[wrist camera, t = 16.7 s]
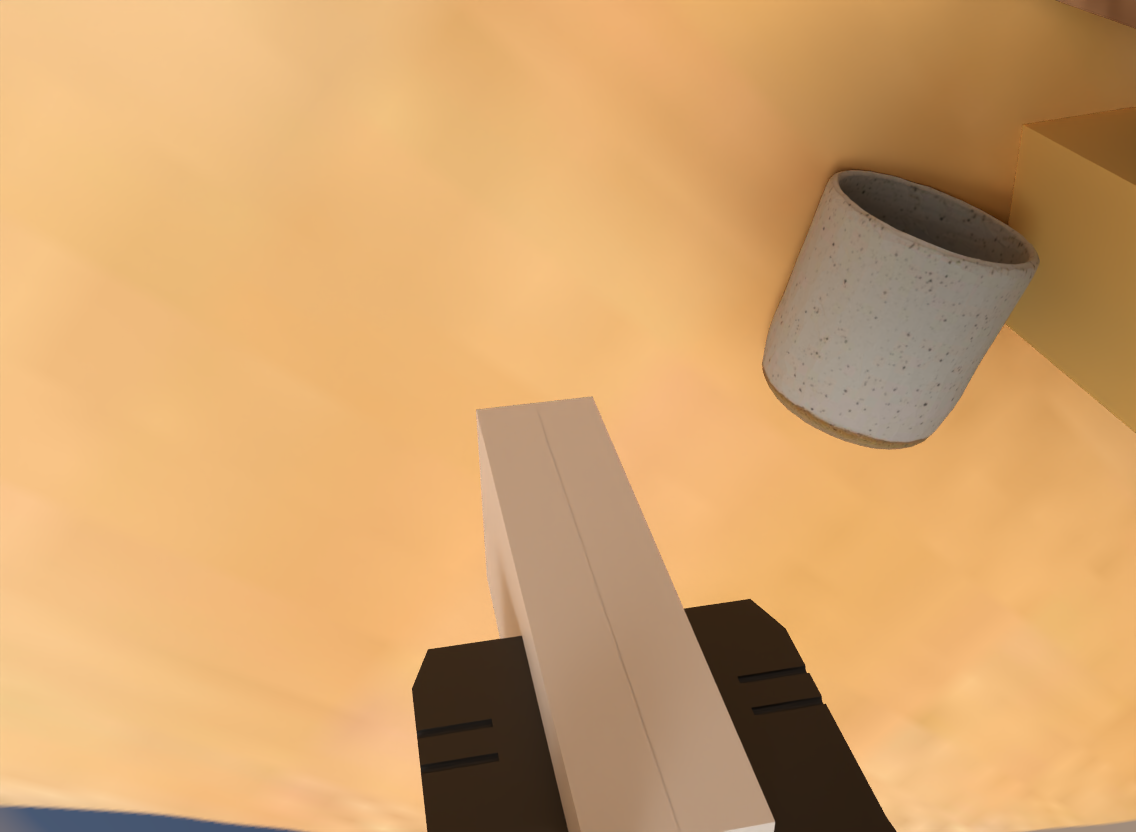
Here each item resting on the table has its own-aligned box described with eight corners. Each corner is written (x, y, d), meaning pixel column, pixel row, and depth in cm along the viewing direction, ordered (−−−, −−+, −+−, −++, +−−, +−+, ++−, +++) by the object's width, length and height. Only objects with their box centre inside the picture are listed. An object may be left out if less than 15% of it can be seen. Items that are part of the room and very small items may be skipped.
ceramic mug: (723, 351, 43) (799, 459, 37) (796, 153, 39) (895, 235, 33) (947, 382, 46) (1052, 485, 40) (1034, 202, 43) (1165, 285, 36)
